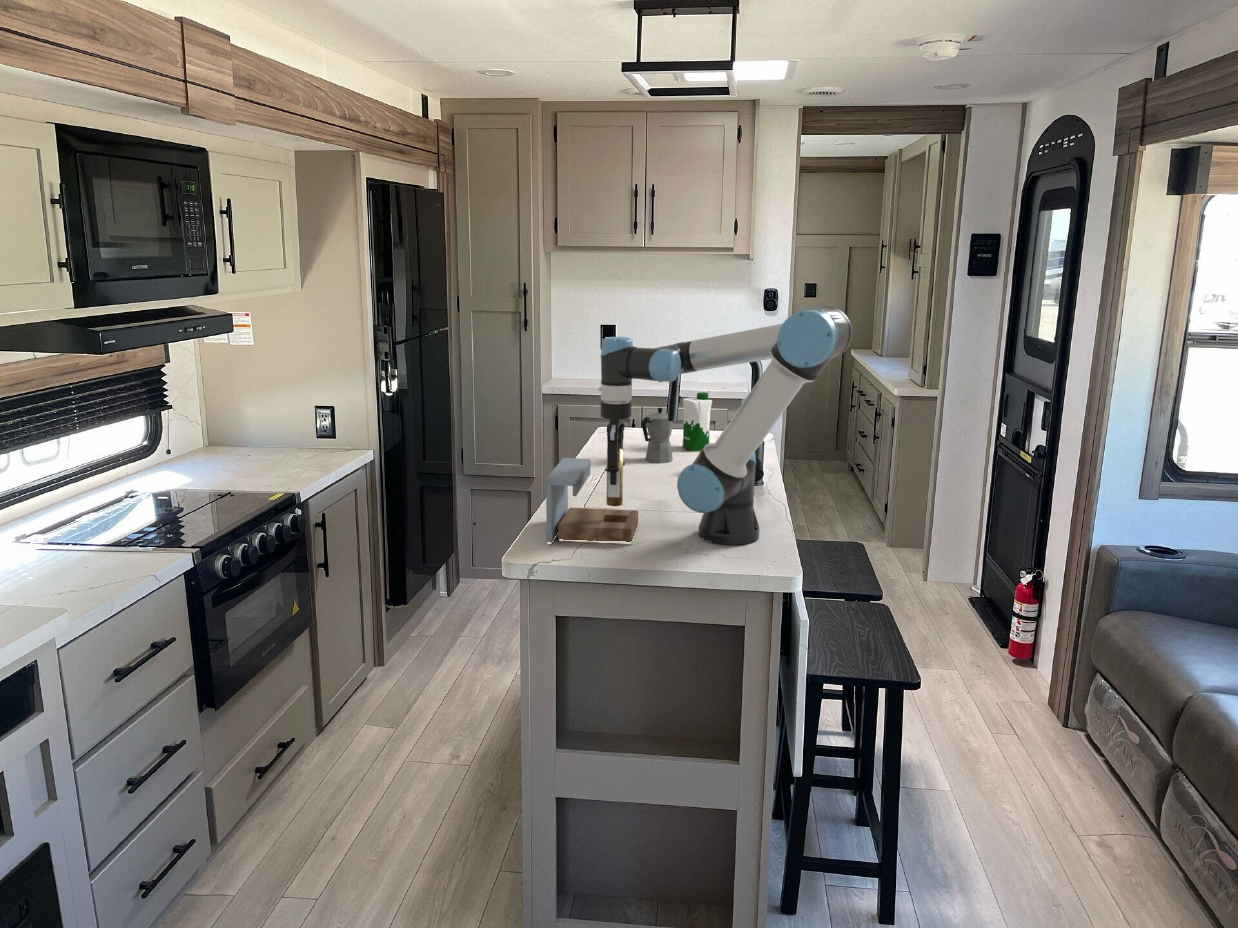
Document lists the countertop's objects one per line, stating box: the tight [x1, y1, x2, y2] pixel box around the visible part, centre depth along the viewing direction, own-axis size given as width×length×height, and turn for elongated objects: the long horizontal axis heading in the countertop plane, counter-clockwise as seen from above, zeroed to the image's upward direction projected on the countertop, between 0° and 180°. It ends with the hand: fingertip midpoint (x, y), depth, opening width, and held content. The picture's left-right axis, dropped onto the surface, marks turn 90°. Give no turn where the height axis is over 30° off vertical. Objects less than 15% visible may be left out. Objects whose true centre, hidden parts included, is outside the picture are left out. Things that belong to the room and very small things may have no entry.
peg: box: [605, 448, 624, 507], centre depth 226 cm, size 4×4×14 cm
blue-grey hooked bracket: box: [545, 457, 591, 543], centre depth 229 cm, size 7×22×16 cm, turn 173°
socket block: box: [557, 507, 639, 542], centre depth 230 cm, size 18×16×4 cm
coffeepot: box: [641, 407, 674, 464], centre depth 306 cm, size 15×9×18 cm, turn 137°
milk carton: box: [682, 392, 713, 453], centre depth 324 cm, size 9×9×20 cm
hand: (614, 493), depth 227 cm, fingers closed on peg, 4 cm apart
